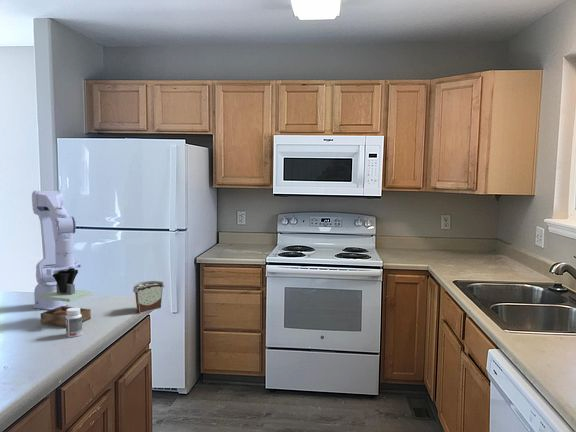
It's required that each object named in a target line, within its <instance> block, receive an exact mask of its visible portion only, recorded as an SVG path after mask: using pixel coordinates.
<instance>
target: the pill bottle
mask: <svg viewBox="0 0 576 432" xmlns="http://www.w3.org/2000/svg"><path fill="white" fill-rule="evenodd" d="M80 308H81V307H77V308H76V306H75V308H69V309H67V310H66V311H67V312H66V313H67V315H66V327H65V336H66V337H69V338H76V337H80V336H82V335H83V322H82V315H81V314H80Z"/></svg>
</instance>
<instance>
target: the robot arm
mask: <svg viewBox="0 0 576 432" xmlns="http://www.w3.org/2000/svg"><path fill="white" fill-rule="evenodd" d="M63 203H64V195H63V192H62V191H61V190H60V189H59V190H33V191H32V192H31V205H32V207H31V208H32V212H33V214H35V215H37V216H38V219H39V223H40V235H41V244H42V254H43V255H42V256H43V258H42V259H41V260H39V261H38V262H37V264H36V265H35V270H36V271H35V279H36V282H37V285H36V286H35V287H34V295H33V296H34V306H33V307H32V308H33V309H40V310H47V311H49V310H52V309H55V308H57V307H60V306H68V305H69V303H67V302H64V301H57V300H48V299H39V295H42V294H45V293H49V292H52V291H55V290H57V287H56V284H58V287H59V290H60V293H66V291H67V284H74V281H75V278H76V277H77V276H78V275H77V274H79V270H78V268H83V261H78V260H76V261H75V247H74V245H75V244H74V243H75V242H74V238H75V237H74V234H75V233H76V229H77V226H76V225H77V224H76V220H75V219H76V218H75V217H74V216H70V215H69V213H68V211H67V209H66V208H65V207H64V206H63V205H64V204H63Z"/></svg>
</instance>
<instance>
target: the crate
mask: <svg viewBox="0 0 576 432" xmlns="http://www.w3.org/2000/svg"><path fill="white" fill-rule="evenodd" d="M75 307H76V306H75ZM75 307H74V306H68V305H66V306H60V307H57V308H55V309H52V310H47V311H44V312H41V313H40V325H41V324H42V325H48V326H55V327H63V328H66V315H67V313H66V312H67V311H66V310H67V309H69V308H75ZM76 308H78V307H76ZM79 308H80V314H81V315H82V323H84V322H87V321H89V320H91V319H92V315H91V311H92V310H91V308H85V307H84V308H83V307H79Z"/></svg>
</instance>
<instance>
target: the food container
mask: <svg viewBox="0 0 576 432" xmlns="http://www.w3.org/2000/svg"><path fill="white" fill-rule="evenodd" d="M164 288H165V283H164V282H163V281H159V280H149V281H148V280H147V281H140V282H137V283H135V284H134V286H133V289H132V291H133V293H134V294H135V303H136V311H137V313H138V314H143V313H147V312H151V311H155V310H159V309H161V308H162V301H163V289H164Z"/></svg>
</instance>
